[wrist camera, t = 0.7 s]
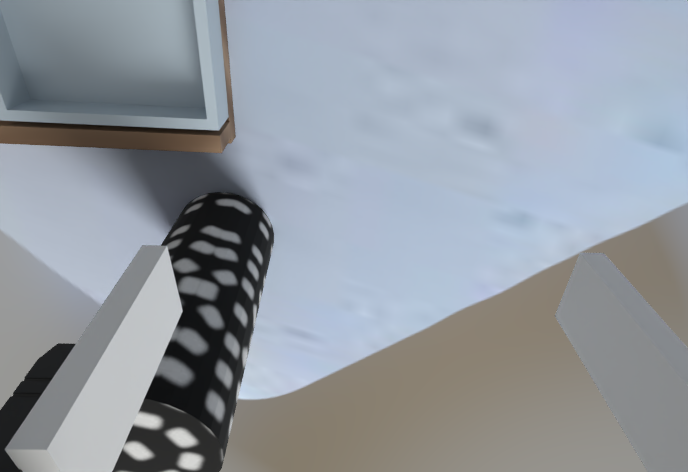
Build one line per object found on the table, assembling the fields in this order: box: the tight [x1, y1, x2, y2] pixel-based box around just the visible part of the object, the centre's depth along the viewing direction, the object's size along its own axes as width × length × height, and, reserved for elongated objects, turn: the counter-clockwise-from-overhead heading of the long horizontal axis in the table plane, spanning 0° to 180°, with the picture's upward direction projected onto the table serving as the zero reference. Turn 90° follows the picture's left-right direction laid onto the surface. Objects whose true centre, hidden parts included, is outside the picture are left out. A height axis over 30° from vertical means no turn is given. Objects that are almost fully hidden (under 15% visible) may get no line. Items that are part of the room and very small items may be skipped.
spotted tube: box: [112, 192, 274, 472], centre depth 29 cm, size 8×8×20 cm
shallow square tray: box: [0, 0, 229, 130], centre depth 26 cm, size 14×14×3 cm
